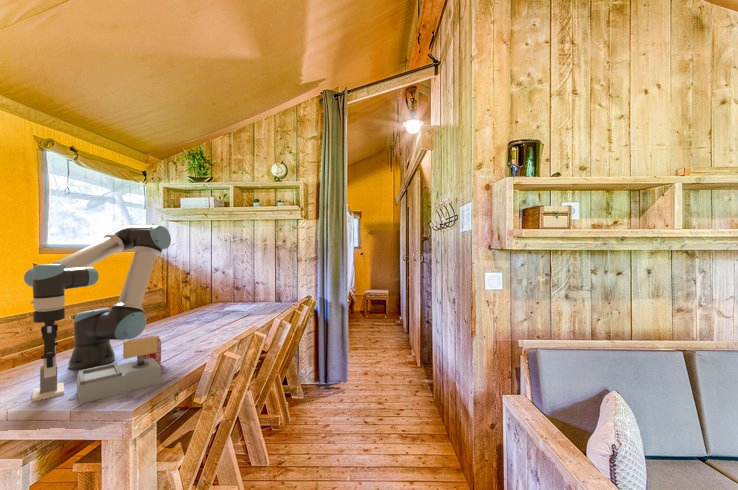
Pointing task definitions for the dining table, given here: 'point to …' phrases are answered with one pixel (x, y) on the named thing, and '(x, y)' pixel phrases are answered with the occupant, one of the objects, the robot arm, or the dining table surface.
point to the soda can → (156, 355)
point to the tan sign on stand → (139, 348)
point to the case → (116, 379)
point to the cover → (48, 387)
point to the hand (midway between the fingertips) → (50, 370)
